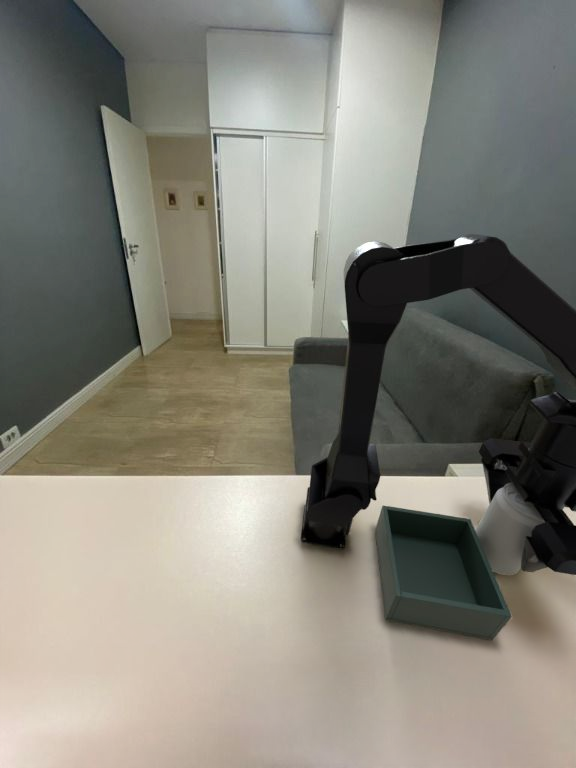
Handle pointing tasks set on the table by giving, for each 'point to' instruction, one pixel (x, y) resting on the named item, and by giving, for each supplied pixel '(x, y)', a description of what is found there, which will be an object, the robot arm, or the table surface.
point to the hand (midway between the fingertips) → (508, 537)
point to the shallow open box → (437, 574)
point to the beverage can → (507, 529)
